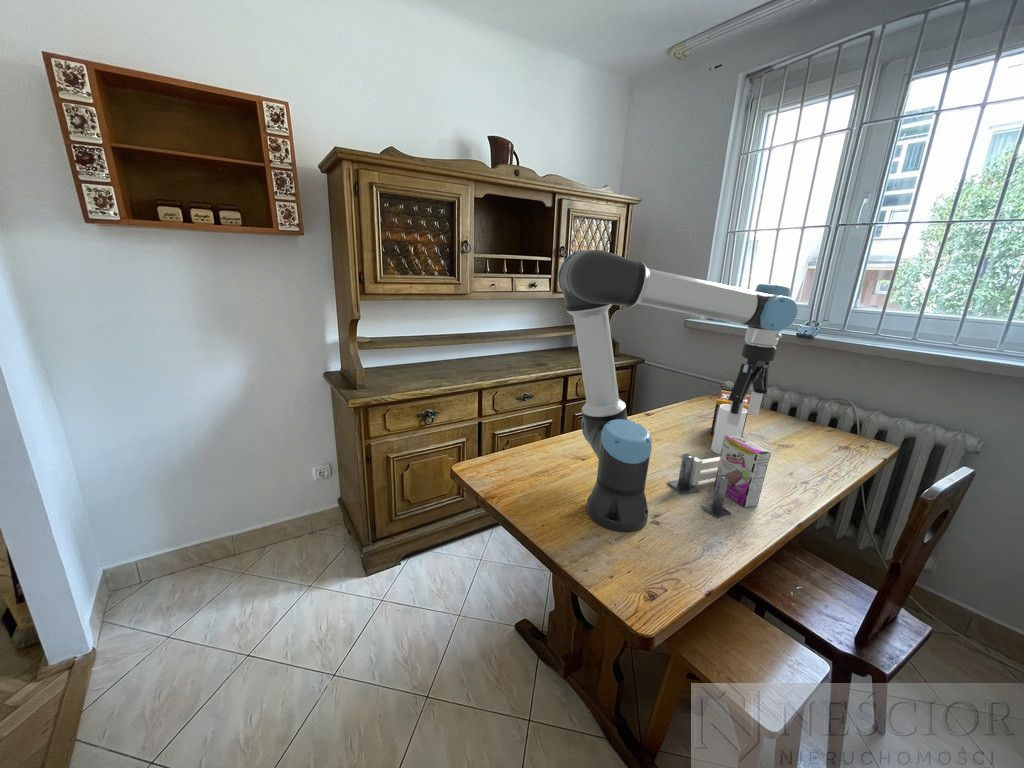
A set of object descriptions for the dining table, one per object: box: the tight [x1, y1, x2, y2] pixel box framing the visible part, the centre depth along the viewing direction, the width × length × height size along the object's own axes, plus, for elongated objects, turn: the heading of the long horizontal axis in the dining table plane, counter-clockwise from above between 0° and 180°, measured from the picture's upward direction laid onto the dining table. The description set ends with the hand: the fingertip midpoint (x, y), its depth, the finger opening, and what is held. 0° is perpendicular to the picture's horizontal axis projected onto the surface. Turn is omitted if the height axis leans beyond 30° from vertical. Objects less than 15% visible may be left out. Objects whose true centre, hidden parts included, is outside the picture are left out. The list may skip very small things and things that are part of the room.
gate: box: [690, 456, 720, 486], centre depth 117 cm, size 16×2×8 cm, turn 110°
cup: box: [710, 404, 748, 456], centre depth 137 cm, size 8×8×16 cm
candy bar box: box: [713, 434, 772, 508], centre depth 109 cm, size 11×5×16 cm, turn 17°
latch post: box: [701, 475, 733, 519], centre depth 103 cm, size 5×5×10 cm
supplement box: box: [708, 389, 751, 441], centre depth 150 cm, size 10×15×16 cm
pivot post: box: [667, 453, 700, 496], centre depth 114 cm, size 6×6×10 cm
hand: (742, 419), depth 112 cm, fingers open, 13 cm apart
